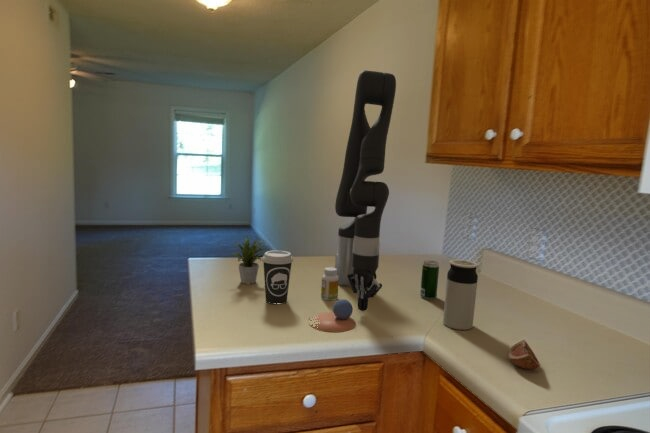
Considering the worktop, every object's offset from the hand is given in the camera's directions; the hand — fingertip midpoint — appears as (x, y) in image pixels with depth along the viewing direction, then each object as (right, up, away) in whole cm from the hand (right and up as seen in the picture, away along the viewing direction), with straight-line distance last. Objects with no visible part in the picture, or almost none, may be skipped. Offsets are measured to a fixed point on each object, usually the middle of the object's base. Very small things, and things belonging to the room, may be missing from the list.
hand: (362, 309), depth 122 cm
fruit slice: (+34, -7, -26) cm, 44 cm away
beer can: (+24, 0, +19) cm, 30 cm away
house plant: (-38, +4, +24) cm, 45 cm away
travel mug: (+26, -4, -4) cm, 27 cm away
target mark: (-9, -2, -6) cm, 11 cm away
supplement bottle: (-9, +1, +13) cm, 16 cm away
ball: (-6, +1, -4) cm, 7 cm away
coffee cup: (-26, +1, +8) cm, 27 cm away
